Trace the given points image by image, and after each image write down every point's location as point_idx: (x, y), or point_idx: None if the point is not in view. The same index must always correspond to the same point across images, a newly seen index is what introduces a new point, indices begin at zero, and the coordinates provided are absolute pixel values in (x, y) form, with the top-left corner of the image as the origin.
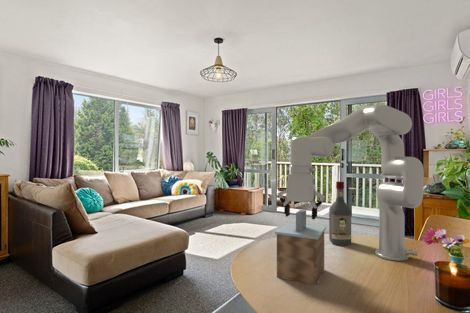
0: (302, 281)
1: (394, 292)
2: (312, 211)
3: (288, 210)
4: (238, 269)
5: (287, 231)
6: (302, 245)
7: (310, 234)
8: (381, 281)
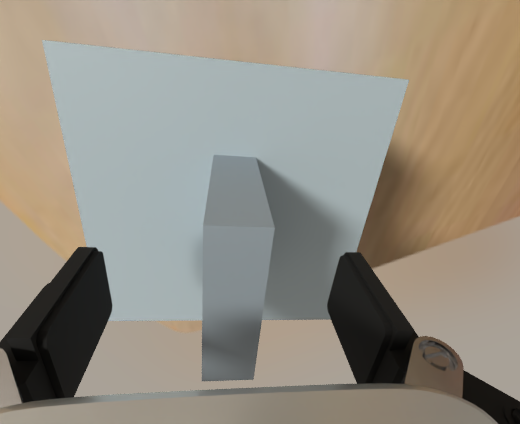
0: None
1: (486, 166)
2: (355, 366)
3: (86, 327)
4: (13, 195)
5: (167, 295)
6: None
7: (299, 296)
8: (484, 103)
